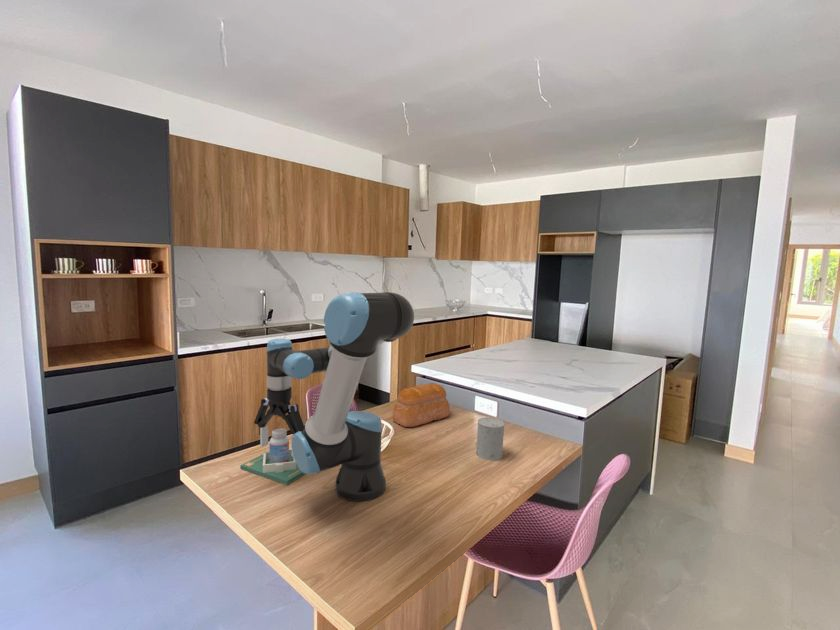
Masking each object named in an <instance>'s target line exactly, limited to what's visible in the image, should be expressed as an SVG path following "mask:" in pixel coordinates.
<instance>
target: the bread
mask: <svg viewBox="0 0 840 630" xmlns="http://www.w3.org/2000/svg"><path fill="white" fill-rule="evenodd" d="M396 401H397V402H396V403H395V405H394V406H393V410H392V420H393V422H394V423H396V424H398V425H399V424H400V425H399V426H402V427H404V428H414V427H417V426H420V425H424V424H429V423H430V422H434V421H439V420H442V419H444V418H445V419H446V418H448V416H449V415H450V413H451V409H450V403H449V401H448V400H447V391H446V389H445V388H444V387H443V386H442V385H440V384H437V383H434V382H430V383H426V384H424V383H423V384H418V385H413V386H411V387H406V388H403V389H402V390H401V391H400V392H399V393H398V395H397V397H396ZM433 420H434V421H433Z"/></svg>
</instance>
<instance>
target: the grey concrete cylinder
mask: <svg viewBox="0 0 840 630" xmlns="http://www.w3.org/2000/svg"><path fill="white" fill-rule="evenodd" d="M504 434H505V422H504V421H503V420H501V419H500V418H499V419H498V418H496V417H481V418H479V419H478V420H477V433H476V435H477V436H476V450H475V451H476V452H475V454H477V455H476V456H477V457H478V456H479V457H478V458H480V459H482V458H483V459H482V460H485V459H486V461H491V460H494V461H499V460H501V459H502V458H503V449H504Z"/></svg>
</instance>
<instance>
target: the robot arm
mask: <svg viewBox="0 0 840 630" xmlns="http://www.w3.org/2000/svg"><path fill="white" fill-rule="evenodd" d="M414 320H415V312H414V309H413V306H412V304H411V303H410V301H409V300H408V299H407V298H406V297H405V296H403V295H401V294H398V293H396V292H392V291H391V292H390V291H389V292H388V291H387V292H363V293H362V292H350V293H343V294H339V295H336V296H335V297H334V298H332V299H331V300H330V302H329V303H328V305H327V307H326V309H325V312H324V316H323V323H324V326H323V331H324V334H325V337H326V338H327V340H328V343H329V345H328V346H326V347H319V348H311V349H302V350H294V349H293V343H292V341H291V340H290V339H288V338H273V339H270V340H268V341H267V345H266V387H267V389H266V394H267V395H266V397H264V398H262V399H261V400H260V406H259V409H258V411H257V414H256V416H255V419H254V421H253V423H254V425H257V426H258V434H259V436H260V441H259V443H260V444H259V445H260V447H261V448H264V447H266V446H268V445H269V425H268V423H269V421H270V420H271V419H272V417H274V416H277V417H279V418H281V419H282V420H284V421H285V423H286V425H287V426H288V429H289V430H290V431H291V434H292V436H291V449H292V451H291V456H292V457H294V459H295V461H296V463H297V465H298V467H299V469H300V470H301V471H302V472H303V473H304V475H309V476H310V475H314V474H319V473H321V472H324V471H326V470H330V469H332V468H335V467H337V466H340V467H339V470H338V474H337V476H336V479H335V481H334V482H335V483H334V484H335V485H334V486H335V487H334V491H335V493H336V494H337V496H339V497H341V498H342V499H345V500H347V501H353V502H364V501H365V502H366V501H370V500H374V499H376V498H378V497H380V496H381V495H383V494H384V492H385V491H386V485H387V484H386V482H387V481H386V480H387V479H386V477H385V474H384V470H383V467H382V464H381V463H382V462H381V455H382V451H381V450H382V433H383V430H382V429H383V428H382V419H381V417H380V416H379V415H377V414H375V413H372V412H369V411H363V410H351V407H352V404H353V401H354V398H355V394H356V391H357V389H358V385H359V383H360V379H361V376H362V373H363V371H364V367H365V363H366V361H367V359H368V358H370V357H372V356H374V354H375V353H376V350H377V347H378V346H379V345H382V344H383V343H385V342H386V343H393V342H395V341H397V340H398V339H400V338H402V337H404V336H406V335H407V334H408V333H409V332H410V330H411V329H412V327H413V326H414V323H415V321H414ZM323 372H325V373H324V379H323V382H322V386H321V389H320V392H319V395H318V399H317V403H316V406H315V410H314V413H313V414H312V415H310V416H309V418H308V419H306V422H305V424H304V422H303V420H302V416H301V413H300V411H299V404H297V403H296V404H291V399H292V397H293V396H292V394H293V393H292V391H293V390H292V389H293V388H292V387H291V386H292V381H293V380H292V379H293V378H294V379H297V380H304V379H306V378H308V377H309V376H310V375H311V374H319V373H323ZM268 408H269V409H268Z"/></svg>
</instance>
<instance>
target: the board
mask: <svg viewBox="0 0 840 630" xmlns="http://www.w3.org/2000/svg"><path fill="white" fill-rule="evenodd" d="M291 451H292V448H289V462H282V463H272V464H269V451H263V453H262V454H260V455H258V456H256V457H254V458H252V459H250V460H248V461H246V462H244V463H242V464H240V470H243V471H246V472H249V473H252V474H255V475H258V476H261V477H263V478H266V479H269V480H272V481H275V482H277V483H281V484H282V485H286V486H288V485H289V484H292V482H294V481H296V480H298V479H300V478H301V477H303V476H304V475H305V474H304V473H303V472H302V471H301V470H300V469H299V467H298V465H297V463H296V461H295V459H294V457H292V456H291Z"/></svg>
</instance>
